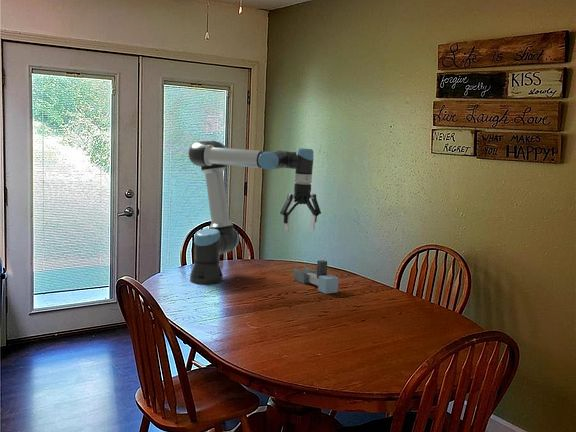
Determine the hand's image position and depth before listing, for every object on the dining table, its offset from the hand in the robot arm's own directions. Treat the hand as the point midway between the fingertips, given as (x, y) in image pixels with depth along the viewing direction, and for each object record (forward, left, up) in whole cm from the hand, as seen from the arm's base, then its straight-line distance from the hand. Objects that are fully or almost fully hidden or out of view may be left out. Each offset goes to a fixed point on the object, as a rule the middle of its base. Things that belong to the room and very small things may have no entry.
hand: (299, 230), depth 267 cm
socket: (+13, +8, -26) cm, 30 cm away
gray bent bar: (+4, +8, -25) cm, 27 cm away
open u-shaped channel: (-7, +8, -26) cm, 28 cm away
